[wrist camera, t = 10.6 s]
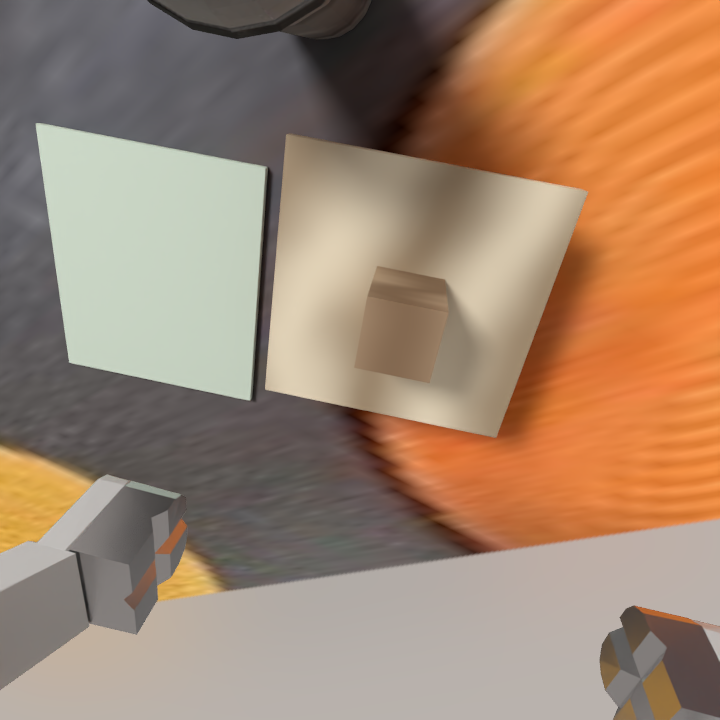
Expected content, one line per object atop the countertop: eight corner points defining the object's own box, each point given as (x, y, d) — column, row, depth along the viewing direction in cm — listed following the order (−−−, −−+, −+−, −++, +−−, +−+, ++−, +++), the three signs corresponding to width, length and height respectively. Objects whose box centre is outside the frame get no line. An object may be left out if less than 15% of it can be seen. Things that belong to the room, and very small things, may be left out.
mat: (267, 166, 24) (265, 167, 24) (252, 397, 31) (250, 400, 30) (41, 123, 24) (35, 123, 24) (73, 359, 31) (69, 362, 31)
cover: (582, 189, 19) (626, 209, 15) (494, 428, 25) (508, 493, 20) (291, 133, 19) (253, 138, 15) (269, 381, 25) (237, 435, 21)
